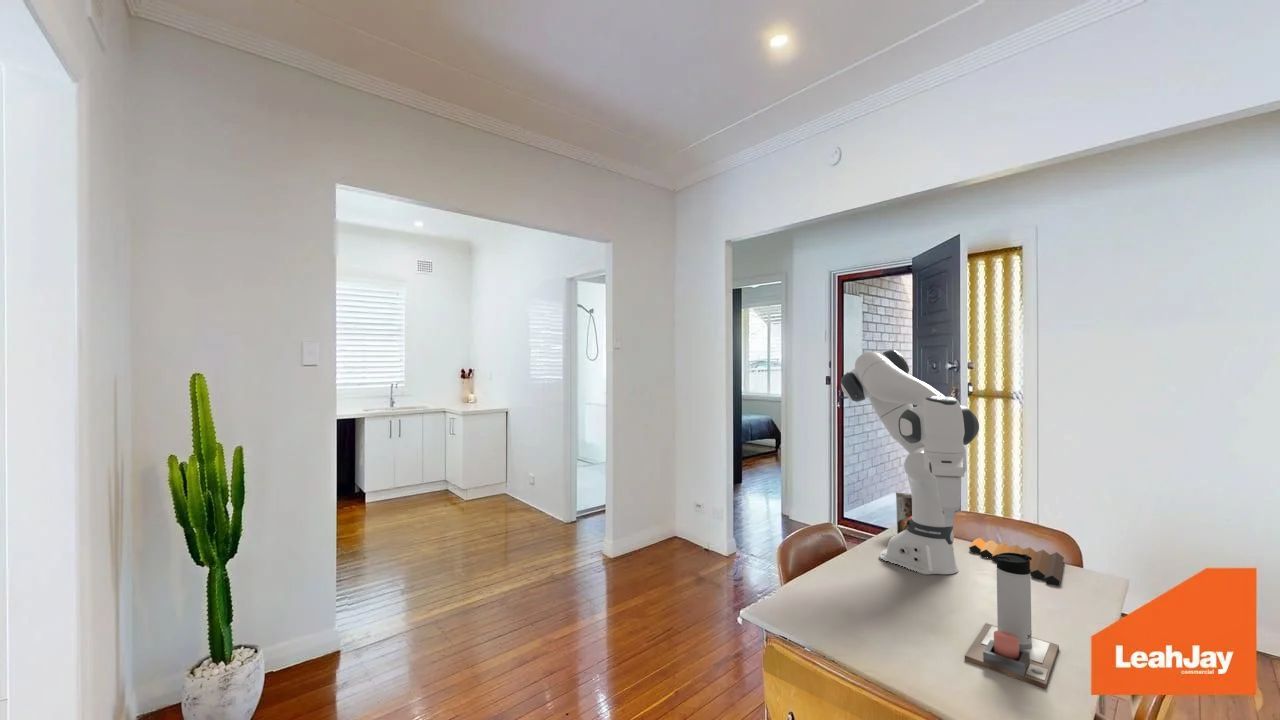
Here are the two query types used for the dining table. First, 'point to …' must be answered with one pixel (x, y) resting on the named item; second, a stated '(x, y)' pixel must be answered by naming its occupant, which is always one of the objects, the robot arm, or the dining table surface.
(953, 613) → the dining table surface
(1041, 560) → the pan flute
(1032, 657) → the brown board with holder
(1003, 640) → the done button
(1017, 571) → the travel mug
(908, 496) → the coffee box
